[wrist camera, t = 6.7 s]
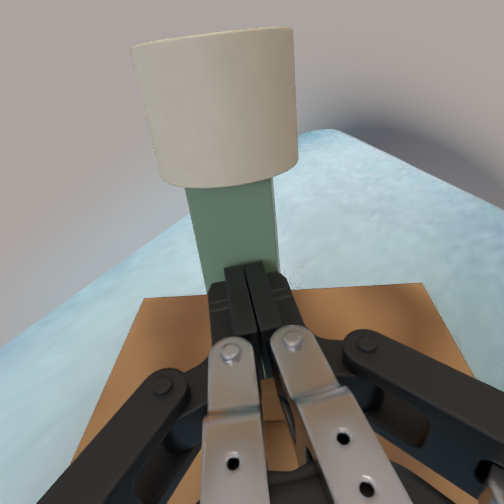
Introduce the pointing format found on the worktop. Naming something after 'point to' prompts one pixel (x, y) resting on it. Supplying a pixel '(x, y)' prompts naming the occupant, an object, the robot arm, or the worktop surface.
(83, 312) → the worktop surface
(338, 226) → the worktop surface
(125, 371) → the brown flat board
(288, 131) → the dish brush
